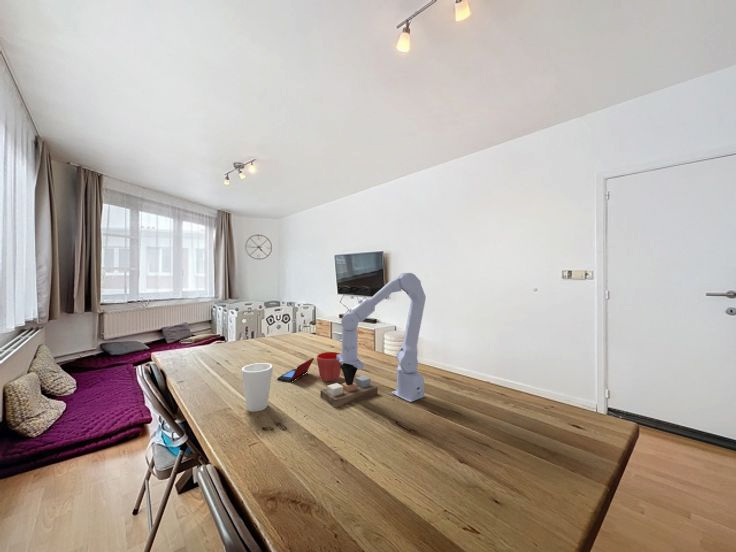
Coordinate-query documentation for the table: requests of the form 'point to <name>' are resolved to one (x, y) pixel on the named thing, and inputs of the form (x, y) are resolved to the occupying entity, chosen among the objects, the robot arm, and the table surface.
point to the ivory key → (334, 389)
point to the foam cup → (256, 385)
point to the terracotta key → (349, 387)
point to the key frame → (349, 395)
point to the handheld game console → (296, 372)
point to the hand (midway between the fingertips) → (349, 384)
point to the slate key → (362, 381)
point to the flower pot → (329, 366)
